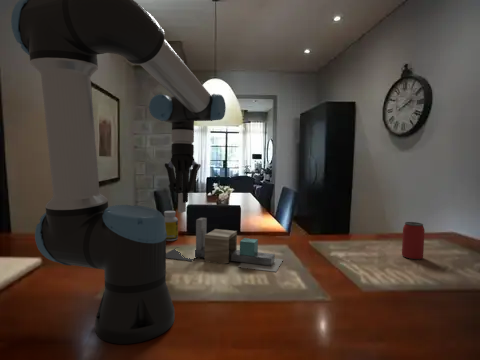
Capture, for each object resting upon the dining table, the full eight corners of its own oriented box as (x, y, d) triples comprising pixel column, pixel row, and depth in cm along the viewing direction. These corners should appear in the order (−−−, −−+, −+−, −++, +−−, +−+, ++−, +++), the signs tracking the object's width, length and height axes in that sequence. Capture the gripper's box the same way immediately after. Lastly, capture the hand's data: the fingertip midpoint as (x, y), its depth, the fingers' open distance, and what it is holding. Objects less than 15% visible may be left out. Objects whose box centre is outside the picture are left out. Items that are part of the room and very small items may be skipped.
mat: (276, 272, 93) (276, 271, 93) (237, 267, 96) (237, 266, 96) (283, 260, 104) (283, 259, 104) (248, 256, 108) (249, 255, 108)
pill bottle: (175, 241, 125) (175, 213, 125) (160, 241, 126) (159, 212, 125) (179, 237, 132) (179, 210, 131) (164, 237, 132) (164, 210, 131)
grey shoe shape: (191, 261, 101) (191, 260, 101) (159, 257, 105) (159, 256, 105) (206, 251, 113) (206, 250, 113) (177, 248, 117) (177, 247, 117)
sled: (271, 265, 97) (272, 226, 96) (195, 256, 105) (195, 220, 104) (274, 260, 101) (275, 223, 101) (201, 252, 110) (201, 217, 109)
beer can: (417, 254, 112) (419, 221, 111) (426, 260, 106) (428, 225, 105) (398, 254, 113) (400, 221, 112) (406, 259, 106) (408, 225, 105)
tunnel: (227, 264, 99) (227, 237, 99) (204, 261, 102) (204, 234, 101) (236, 256, 108) (236, 231, 107) (215, 253, 110) (215, 229, 109)
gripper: (204, 144, 108) (203, 211, 109) (171, 144, 112) (171, 209, 113) (195, 142, 101) (194, 214, 102) (160, 142, 105) (159, 212, 106)
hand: (181, 211), depth 108 cm, fingers closed
